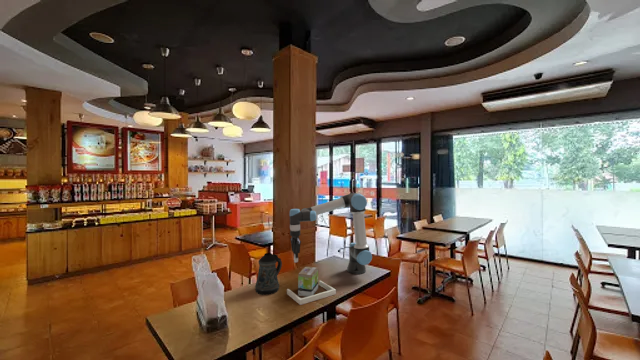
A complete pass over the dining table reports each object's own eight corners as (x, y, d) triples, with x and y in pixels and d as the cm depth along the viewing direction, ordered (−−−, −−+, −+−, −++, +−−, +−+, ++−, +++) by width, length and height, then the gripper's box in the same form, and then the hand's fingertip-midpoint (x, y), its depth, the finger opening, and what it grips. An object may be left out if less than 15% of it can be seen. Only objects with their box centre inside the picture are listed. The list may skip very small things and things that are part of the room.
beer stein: (250, 293, 181) (249, 256, 180) (264, 282, 199) (263, 249, 199) (273, 296, 176) (272, 258, 176) (284, 284, 195) (284, 250, 194)
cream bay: (320, 284, 195) (320, 280, 195) (336, 294, 179) (335, 289, 179) (286, 293, 180) (286, 289, 180) (300, 305, 165) (300, 300, 165)
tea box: (312, 297, 175) (312, 274, 174) (297, 295, 177) (297, 273, 177) (318, 288, 189) (318, 267, 189) (305, 286, 192) (304, 265, 192)
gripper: (286, 229, 201) (287, 260, 202) (294, 232, 190) (295, 265, 191) (295, 228, 205) (296, 258, 206) (304, 230, 194) (305, 263, 195)
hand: (296, 262), depth 198 cm, fingers closed
